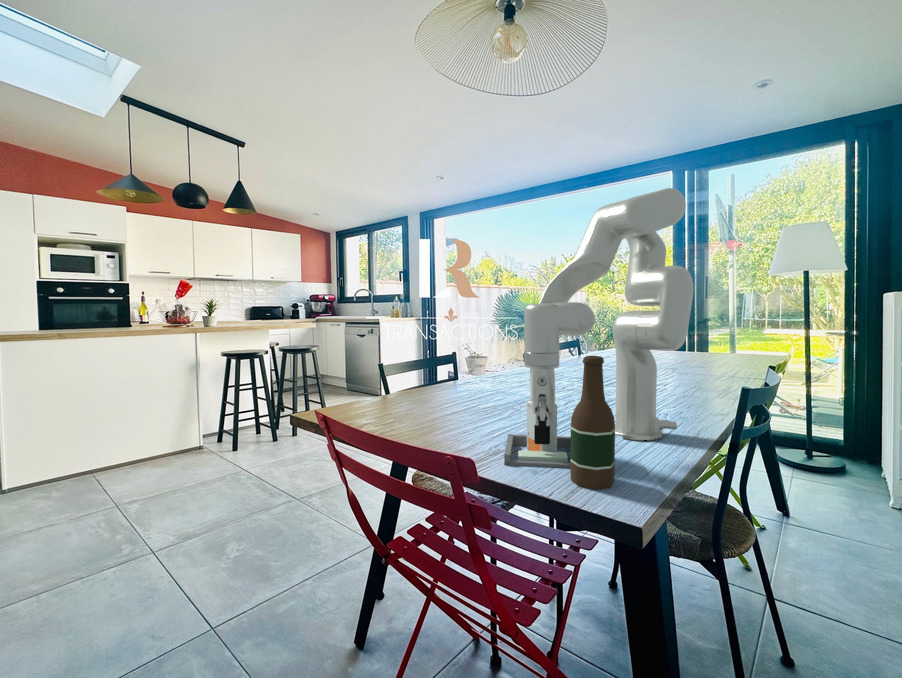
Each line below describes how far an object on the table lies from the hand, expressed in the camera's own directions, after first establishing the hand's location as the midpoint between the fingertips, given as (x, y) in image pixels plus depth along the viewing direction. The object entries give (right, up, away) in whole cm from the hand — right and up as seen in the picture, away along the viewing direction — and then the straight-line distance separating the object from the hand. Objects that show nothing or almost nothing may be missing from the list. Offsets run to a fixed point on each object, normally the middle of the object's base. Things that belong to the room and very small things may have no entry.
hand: (541, 437), depth 97 cm
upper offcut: (-1, -4, -5) cm, 7 cm away
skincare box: (0, -4, 0) cm, 4 cm away
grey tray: (0, -4, -2) cm, 5 cm away
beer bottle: (+6, -5, -16) cm, 18 cm away
